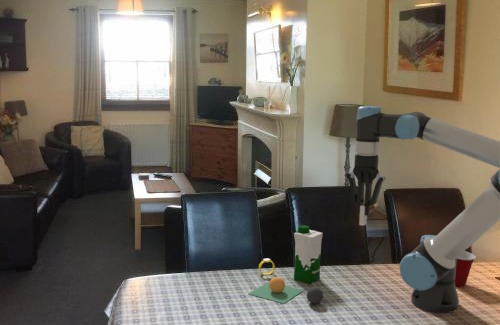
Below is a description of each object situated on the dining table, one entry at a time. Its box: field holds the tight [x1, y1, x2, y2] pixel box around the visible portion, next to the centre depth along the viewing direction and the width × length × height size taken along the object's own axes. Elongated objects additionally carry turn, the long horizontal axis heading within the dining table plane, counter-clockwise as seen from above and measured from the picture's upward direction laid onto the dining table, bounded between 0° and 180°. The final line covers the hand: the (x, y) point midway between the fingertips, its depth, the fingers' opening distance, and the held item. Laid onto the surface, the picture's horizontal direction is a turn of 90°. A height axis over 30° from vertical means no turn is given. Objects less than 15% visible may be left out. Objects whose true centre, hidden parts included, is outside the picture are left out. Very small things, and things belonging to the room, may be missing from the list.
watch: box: [258, 257, 276, 276], centre depth 212 cm, size 6×3×6 cm, turn 106°
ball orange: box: [269, 276, 286, 293], centre depth 195 cm, size 6×6×6 cm
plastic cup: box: [455, 250, 477, 288], centre depth 206 cm, size 11×11×12 cm
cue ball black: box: [306, 286, 324, 305], centre depth 187 cm, size 6×6×6 cm
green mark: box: [248, 280, 304, 305], centre depth 196 cm, size 14×14×1 cm
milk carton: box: [293, 224, 323, 285], centre depth 206 cm, size 9×9×20 cm
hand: (362, 224), depth 186 cm, fingers closed
